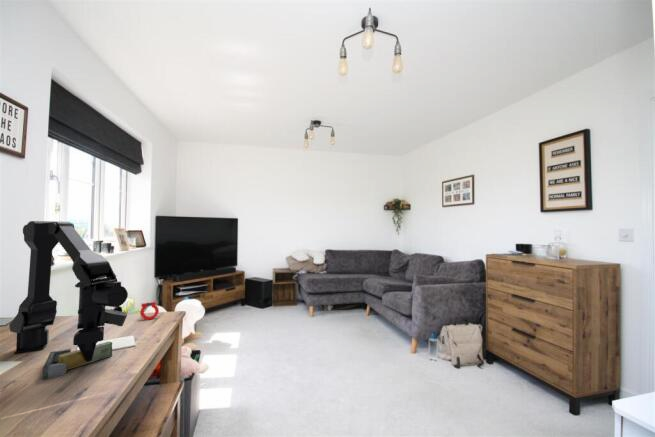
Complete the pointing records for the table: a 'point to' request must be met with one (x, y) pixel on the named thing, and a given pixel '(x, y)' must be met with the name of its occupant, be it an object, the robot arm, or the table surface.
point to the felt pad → (119, 342)
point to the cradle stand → (54, 365)
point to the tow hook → (144, 308)
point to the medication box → (78, 359)
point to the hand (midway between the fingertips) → (89, 358)
